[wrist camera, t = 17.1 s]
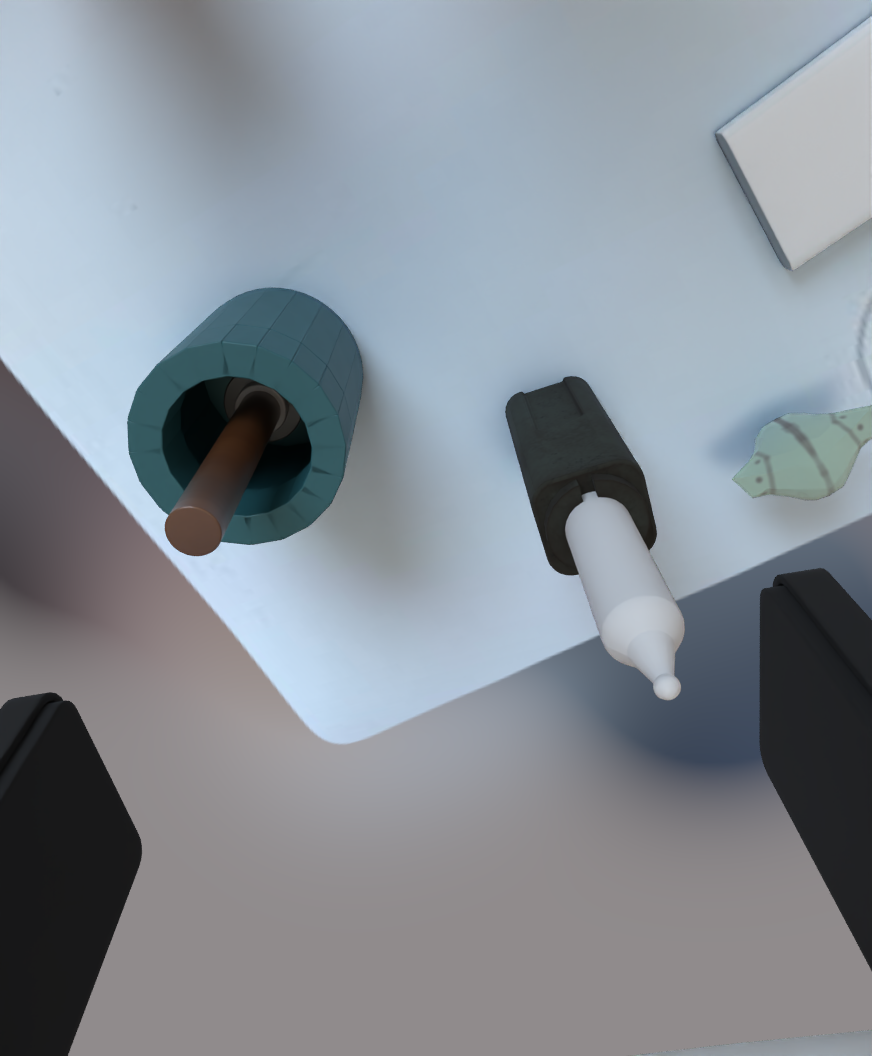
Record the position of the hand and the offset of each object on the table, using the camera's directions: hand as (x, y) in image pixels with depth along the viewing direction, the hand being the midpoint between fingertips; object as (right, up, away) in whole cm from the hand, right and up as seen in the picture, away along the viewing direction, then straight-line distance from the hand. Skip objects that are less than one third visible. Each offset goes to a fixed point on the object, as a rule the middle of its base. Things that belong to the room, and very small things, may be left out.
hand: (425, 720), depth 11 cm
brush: (-9, +11, +34) cm, 37 cm away
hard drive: (+22, +23, +30) cm, 43 cm away
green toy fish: (+20, +8, +37) cm, 43 cm away
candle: (+7, +9, +37) cm, 38 cm away
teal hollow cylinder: (-9, +12, +35) cm, 38 cm away
